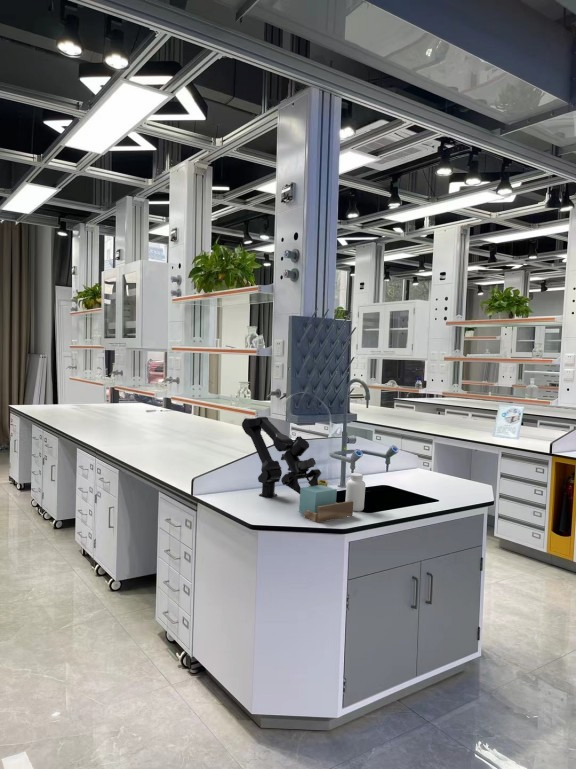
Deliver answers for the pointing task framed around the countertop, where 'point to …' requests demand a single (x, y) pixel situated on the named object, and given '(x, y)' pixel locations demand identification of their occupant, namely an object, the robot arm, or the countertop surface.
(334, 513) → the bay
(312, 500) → the crate
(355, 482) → the pill bottle
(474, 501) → the countertop surface
